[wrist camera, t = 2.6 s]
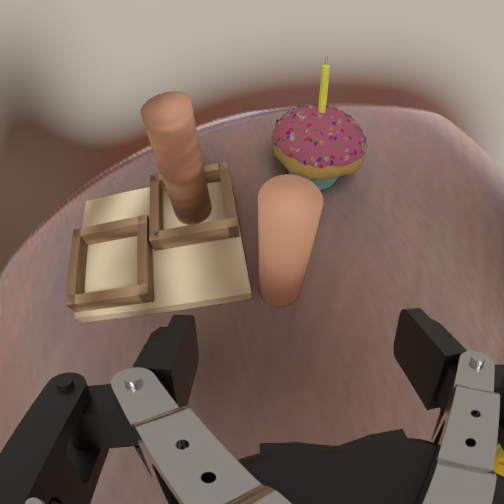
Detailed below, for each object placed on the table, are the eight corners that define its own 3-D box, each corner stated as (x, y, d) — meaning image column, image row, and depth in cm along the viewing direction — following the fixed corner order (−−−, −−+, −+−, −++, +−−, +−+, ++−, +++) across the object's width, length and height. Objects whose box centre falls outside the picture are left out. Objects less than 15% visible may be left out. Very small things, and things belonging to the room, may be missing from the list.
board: (230, 181, 31) (217, 69, 20) (251, 298, 25) (244, 197, 14) (90, 208, 30) (36, 117, 19) (81, 322, 24) (-12, 250, 13)
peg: (295, 266, 26) (312, 171, 16) (304, 302, 25) (331, 220, 15) (255, 272, 26) (252, 178, 16) (263, 310, 24) (264, 230, 15)
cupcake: (269, 144, 33) (270, 43, 23) (347, 145, 33) (368, 50, 23) (272, 208, 29) (277, 94, 18) (363, 208, 29) (402, 104, 18)
